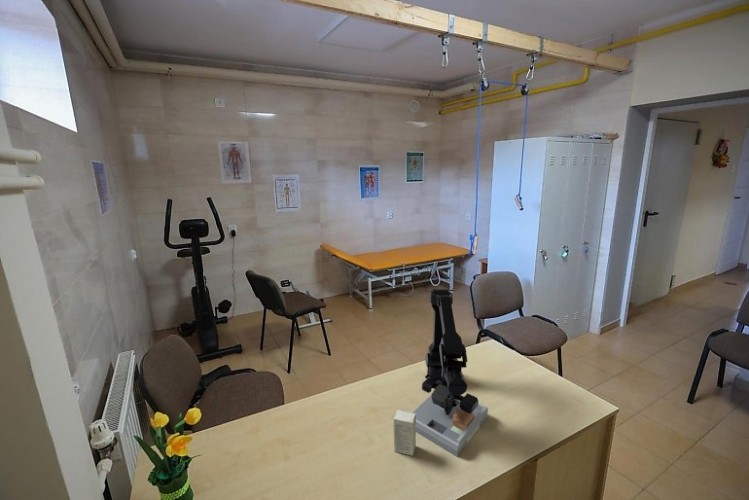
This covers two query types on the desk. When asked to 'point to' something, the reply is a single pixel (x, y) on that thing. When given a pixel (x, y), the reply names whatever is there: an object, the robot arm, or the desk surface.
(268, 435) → the desk surface
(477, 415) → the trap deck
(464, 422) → the block
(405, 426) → the skincare box
